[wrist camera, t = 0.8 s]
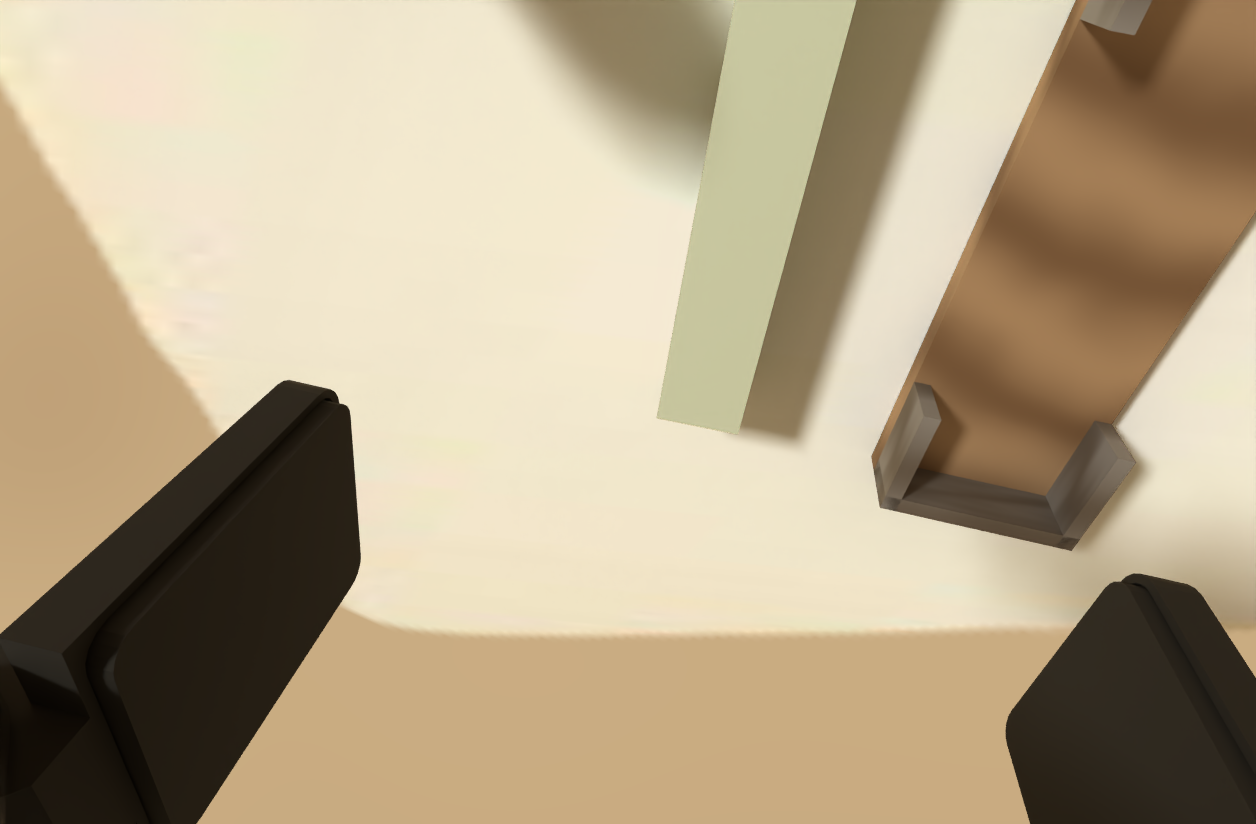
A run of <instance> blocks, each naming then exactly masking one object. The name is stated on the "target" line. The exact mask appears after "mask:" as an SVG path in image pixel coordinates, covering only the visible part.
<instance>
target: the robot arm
mask: <svg viewBox="0 0 1256 824" xmlns="http://www.w3.org/2000/svg"><path fill="white" fill-rule="evenodd" d="M360 561H361V553H360V539H359V525H358V512H357V498H356V484H355V471H354V457H353V444H352V430H351V416H350V411H349V409H348V407H347V406H346V405H344V404H339V400H338V396H337V395H336V393H335V392H334V391H332V390H331V389H326V388H322V387H317V386H313V385H309V384H304V383H300V382H295V381H291V380H287V381H283V382H281V383H280V384H278V385H277V386H276V387H275V388H273V389H272V390H271V391H270V392H269V393H268V394H267V395H266V396H265V397H263V398H262V399H261V400H260V401H259V402H258V403H257V404H256V405H254V406H253V407H252V408H251V409H250V410H249V411H248V412H247V413H246V414H244V415H243V416H242V417H241V418H240V419H239V420H238V421H237V422H236V423H234V424H233V425H232V426H231V427H230V428H229V429H228V430H227V431H226V432H224V433H223V434H222V435H221V436H220V437H219V438H218V439H217V440H216V441H214V442H213V443H212V444H211V445H210V446H209V447H208V448H207V449H206V450H204V451H203V452H202V453H201V454H200V455H199V456H198V457H197V458H196V459H194V460H193V461H192V462H191V463H190V464H189V465H188V466H187V467H186V468H184V469H183V470H182V471H181V472H180V473H179V474H178V475H177V476H176V477H174V478H173V479H172V480H171V481H170V482H169V483H168V484H167V485H166V486H164V487H163V488H162V489H161V490H160V491H159V492H158V493H157V494H156V495H154V496H153V497H152V498H151V499H150V500H149V501H148V502H147V503H145V504H144V505H143V506H142V507H141V508H140V509H139V510H138V511H137V512H135V513H134V514H133V515H132V516H131V517H130V518H129V519H128V520H127V521H125V522H124V523H123V524H122V525H121V526H120V527H119V528H118V529H117V530H115V531H114V532H113V533H112V534H111V535H110V536H109V537H108V538H107V539H106V540H104V541H103V542H102V543H101V544H100V545H99V546H98V547H97V548H96V549H94V550H93V551H92V552H91V553H90V554H89V555H88V556H87V557H85V558H84V559H83V560H82V561H81V562H80V563H79V564H78V565H77V566H75V567H74V568H73V569H72V570H71V571H70V572H69V573H68V574H67V575H65V577H63V578H62V579H61V580H60V581H59V582H58V583H57V584H55V585H54V586H53V587H52V588H51V589H50V590H49V591H48V592H46V593H45V594H44V595H43V596H42V597H41V598H40V599H39V600H38V601H37V602H35V603H34V604H33V605H32V606H31V607H30V608H29V609H28V610H27V611H25V612H24V613H23V614H22V615H21V616H20V617H19V618H18V619H17V620H16V621H14V622H13V623H12V624H11V625H10V626H9V627H8V628H6V629H5V630H4V631H3V632H2V633H1V634H0V824H196V823H197V822H198V821H199V819H200V818H201V817H202V815H203V813H204V812H205V810H206V809H207V807H208V806H209V804H210V803H211V801H212V799H213V798H214V797H215V795H216V794H217V792H218V790H219V789H220V787H221V786H222V784H223V783H224V781H225V780H226V778H227V777H228V775H229V774H230V772H231V770H232V769H233V767H234V766H235V764H236V763H237V761H238V760H239V758H240V757H241V755H242V754H243V752H244V750H245V749H246V747H247V746H248V744H249V743H250V741H251V740H252V738H253V737H254V735H255V734H256V732H257V731H258V729H259V728H260V726H261V724H262V723H263V721H264V720H265V718H266V717H267V715H268V714H269V712H270V710H271V709H272V708H273V706H274V704H275V703H276V701H277V700H278V698H279V697H280V695H281V694H282V692H283V690H284V689H285V688H286V686H287V685H288V683H289V681H290V680H291V678H292V677H293V675H294V674H295V672H296V671H297V669H298V668H299V666H300V665H301V663H302V661H303V660H304V658H305V657H306V655H307V654H308V652H309V651H310V649H311V648H312V646H313V645H314V643H315V642H316V640H317V638H318V637H319V635H320V634H321V632H322V631H323V629H324V628H325V626H326V625H327V623H328V622H329V620H330V619H331V617H332V615H333V614H334V612H335V610H336V609H337V608H338V606H339V605H340V603H341V602H342V600H343V599H344V597H345V595H346V594H347V592H348V591H349V589H350V588H351V586H352V584H353V583H354V581H355V579H356V576H357V574H358V570H359V567H360ZM1006 741H1007V746H1008V749H1009V752H1010V756H1011V759H1012V763H1013V766H1014V769H1015V773H1016V777H1017V780H1018V783H1019V787H1020V790H1021V794H1022V797H1023V801H1024V804H1025V807H1026V811H1027V814H1028V818H1029V821H1030V824H1256V678H1255V676H1254V675H1253V673H1252V671H1251V670H1250V668H1249V667H1248V665H1247V664H1246V662H1245V661H1244V659H1243V658H1242V656H1241V655H1240V653H1239V652H1238V650H1237V649H1236V647H1235V645H1234V644H1233V642H1232V641H1231V639H1230V638H1229V636H1228V635H1227V633H1226V632H1225V630H1224V629H1223V627H1222V626H1221V624H1220V622H1219V621H1218V619H1217V618H1216V616H1215V615H1214V613H1213V612H1212V610H1211V609H1210V607H1209V606H1208V604H1207V603H1206V601H1205V600H1204V598H1203V596H1202V595H1201V594H1200V593H1199V592H1198V591H1197V590H1196V589H1195V588H1193V587H1191V586H1189V585H1188V584H1183V583H1179V582H1174V581H1170V580H1166V579H1161V578H1157V577H1152V576H1148V575H1144V574H1131V575H1129V576H1127V577H1125V578H1124V579H1123V580H1122V581H1121V582H1113V583H1110V584H1109V585H1108V586H1107V587H1106V588H1105V589H1104V590H1103V591H1102V593H1101V594H1100V595H1099V597H1098V598H1097V599H1096V601H1095V602H1094V603H1093V605H1092V606H1091V607H1090V608H1089V610H1088V611H1087V612H1086V614H1085V615H1084V616H1083V618H1082V619H1081V620H1080V622H1079V623H1078V624H1077V626H1076V627H1075V628H1074V629H1073V631H1072V632H1071V633H1070V635H1069V636H1068V637H1067V639H1066V640H1065V642H1064V643H1063V644H1062V645H1061V647H1060V648H1059V649H1058V651H1057V652H1056V653H1055V655H1054V656H1053V657H1052V659H1051V660H1050V661H1049V662H1048V664H1047V665H1046V666H1045V668H1044V669H1043V670H1042V672H1041V673H1040V674H1039V675H1038V677H1037V678H1036V679H1035V681H1034V682H1033V683H1032V685H1031V686H1030V687H1029V689H1028V690H1027V691H1026V693H1025V694H1024V695H1023V696H1022V698H1021V699H1020V701H1019V702H1018V703H1017V704H1016V706H1015V707H1014V708H1013V709H1012V711H1011V713H1010V714H1009V716H1008V720H1007V723H1006Z"/></svg>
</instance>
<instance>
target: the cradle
mask: <svg viewBox="0 0 1256 824" xmlns="http://www.w3.org/2000/svg"><path fill="white" fill-rule="evenodd" d="M1255 212H1256V0H1076V1H1075V3H1074V6H1073V8H1072V10H1071V12H1070V15H1069V17H1068V19H1067V21H1066V24H1065V26H1064V28H1063V30H1062V32H1061V35H1060V37H1059V39H1058V41H1057V44H1056V46H1055V48H1054V50H1053V53H1052V55H1051V57H1050V59H1049V61H1048V64H1047V66H1046V68H1045V70H1044V73H1043V75H1042V77H1041V79H1040V82H1039V84H1038V86H1037V88H1036V91H1035V93H1034V95H1033V97H1032V99H1031V102H1030V104H1029V106H1028V108H1027V111H1026V113H1025V115H1024V117H1023V120H1022V122H1021V124H1020V126H1019V128H1018V131H1017V133H1016V135H1015V137H1014V140H1013V142H1012V144H1011V146H1010V149H1009V151H1008V153H1007V155H1006V157H1005V160H1004V162H1003V164H1002V166H1001V169H1000V171H999V173H998V175H997V178H996V180H995V182H994V184H993V186H992V189H991V191H990V193H989V195H988V198H987V200H986V202H985V204H984V207H983V209H982V211H981V213H980V216H979V218H978V220H977V222H976V224H975V227H974V229H973V231H972V233H971V236H970V238H969V240H968V242H967V245H966V247H965V249H964V251H963V253H962V256H961V258H960V260H959V262H958V265H957V267H956V269H955V271H954V274H953V276H952V278H951V280H950V282H949V285H948V287H947V289H946V291H945V294H944V296H943V298H942V300H941V303H940V305H939V307H938V309H937V312H936V314H935V316H934V318H933V320H932V323H931V325H930V327H929V329H928V332H927V334H926V336H925V338H924V341H923V343H922V345H921V347H920V349H919V352H918V354H917V356H916V358H915V361H914V363H913V365H912V367H911V370H910V372H909V374H908V376H907V378H906V381H905V383H904V385H903V387H902V390H901V392H900V394H899V396H898V399H897V401H896V403H895V405H894V407H893V410H892V412H891V414H890V416H889V419H888V421H887V423H886V425H885V428H884V430H883V432H882V434H881V437H880V439H879V441H878V443H877V445H876V448H875V450H874V452H873V454H872V463H873V469H874V475H875V481H876V487H877V493H878V499H879V505H880V508H884V509H888V510H893V511H897V512H902V513H906V514H910V515H915V516H919V517H924V518H928V519H933V520H937V521H942V522H946V523H950V524H955V525H959V526H964V527H968V528H973V529H977V530H982V531H986V532H990V533H995V534H999V535H1004V536H1008V537H1013V538H1017V539H1022V540H1026V541H1030V542H1035V543H1039V544H1044V545H1048V546H1053V547H1057V548H1061V549H1066V550H1070V551H1072V549H1073V548H1074V547H1075V545H1076V544H1077V543H1078V541H1079V540H1080V538H1081V537H1082V536H1083V534H1084V533H1085V532H1086V530H1087V529H1088V528H1089V526H1090V525H1091V523H1092V522H1093V521H1094V519H1095V518H1096V517H1097V515H1098V514H1099V512H1100V511H1101V510H1102V508H1103V507H1104V506H1105V504H1106V503H1107V502H1108V500H1109V499H1110V497H1111V496H1112V495H1113V493H1114V492H1115V491H1116V489H1117V488H1118V486H1119V485H1120V484H1121V482H1122V481H1123V480H1124V478H1125V477H1126V476H1127V474H1128V473H1129V471H1130V470H1131V469H1132V467H1133V466H1134V465H1135V463H1136V462H1135V460H1134V459H1133V457H1132V455H1131V454H1130V452H1129V451H1128V449H1127V448H1126V446H1125V444H1124V443H1123V441H1122V440H1121V438H1120V437H1119V435H1118V433H1117V432H1116V430H1115V429H1114V427H1113V426H1112V423H1113V421H1114V420H1115V418H1116V417H1117V415H1118V414H1119V412H1120V411H1121V410H1122V408H1123V407H1124V405H1125V404H1126V402H1127V401H1128V399H1129V398H1130V396H1131V395H1132V393H1133V392H1134V390H1135V389H1136V387H1137V386H1138V384H1139V383H1140V381H1141V380H1142V379H1143V377H1144V376H1145V374H1146V373H1147V371H1148V370H1149V368H1150V367H1151V365H1152V364H1153V362H1154V361H1155V359H1156V358H1157V356H1158V355H1159V353H1160V352H1161V351H1162V349H1163V348H1164V346H1165V345H1166V343H1167V342H1168V340H1169V339H1170V337H1171V336H1172V334H1173V333H1174V331H1175V330H1176V328H1177V327H1178V325H1179V324H1180V322H1181V321H1182V320H1183V318H1184V317H1185V315H1186V314H1187V312H1188V311H1189V309H1190V308H1191V306H1192V305H1193V303H1194V302H1195V300H1196V299H1197V297H1198V296H1199V294H1200V293H1201V291H1202V290H1203V289H1204V287H1205V286H1206V284H1207V283H1208V281H1209V280H1210V278H1211V277H1212V275H1213V274H1214V272H1215V271H1216V269H1217V268H1218V266H1219V265H1220V263H1221V262H1222V261H1223V259H1224V258H1225V256H1226V255H1227V253H1228V252H1229V250H1230V249H1231V247H1232V246H1233V244H1234V243H1235V241H1236V240H1237V238H1238V237H1239V235H1240V234H1241V232H1242V231H1243V230H1244V228H1245V227H1246V225H1247V224H1248V222H1249V221H1250V219H1251V218H1252V216H1253V215H1254V213H1255Z"/></svg>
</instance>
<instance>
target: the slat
mask: <svg viewBox="0 0 1256 824" xmlns="http://www.w3.org/2000/svg"><path fill="white" fill-rule="evenodd" d="M855 4H856V0H735V1H734V7H733V12H732V17H731V23H730V28H729V33H728V39H727V44H726V49H725V55H724V60H723V65H722V71H721V76H720V81H719V87H718V92H717V98H716V103H715V108H714V114H713V119H712V124H711V130H710V135H709V140H708V146H707V151H706V156H705V162H704V167H703V172H702V178H701V183H700V189H699V194H698V199H697V205H696V210H695V215H694V221H693V226H692V231H691V237H690V242H689V247H688V253H687V258H686V263H685V269H684V274H683V280H682V285H681V290H680V296H679V301H678V306H677V312H676V317H675V322H674V328H673V333H672V338H671V344H670V349H669V355H668V360H667V365H666V371H665V376H664V381H663V387H662V392H661V397H660V403H659V408H658V413H657V418H658V419H663V420H668V421H673V422H678V423H682V424H687V425H692V426H697V427H702V428H707V429H712V430H717V431H722V432H727V433H732V434H737V435H738V433H739V429H740V425H741V422H742V418H743V414H744V411H745V407H746V403H747V400H748V396H749V392H750V389H751V385H752V381H753V378H754V374H755V370H756V367H757V363H758V359H759V356H760V352H761V348H762V345H763V341H764V337H765V334H766V330H767V326H768V323H769V319H770V315H771V312H772V308H773V304H774V301H775V297H776V293H777V290H778V286H779V283H780V279H781V275H782V272H783V268H784V264H785V261H786V257H787V253H788V250H789V246H790V242H791V239H792V235H793V231H794V228H795V224H796V220H797V217H798V213H799V209H800V206H801V202H802V198H803V195H804V191H805V187H806V184H807V180H808V176H809V173H810V169H811V165H812V162H813V158H814V154H815V151H816V147H817V143H818V140H819V136H820V132H821V129H822V125H823V121H824V118H825V114H826V110H827V107H828V103H829V99H830V96H831V92H832V88H833V85H834V81H835V77H836V74H837V70H838V66H839V63H840V59H841V55H842V52H843V48H844V44H845V41H846V37H847V33H848V30H849V26H850V22H851V19H852V15H853V11H854V8H855Z"/></svg>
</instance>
